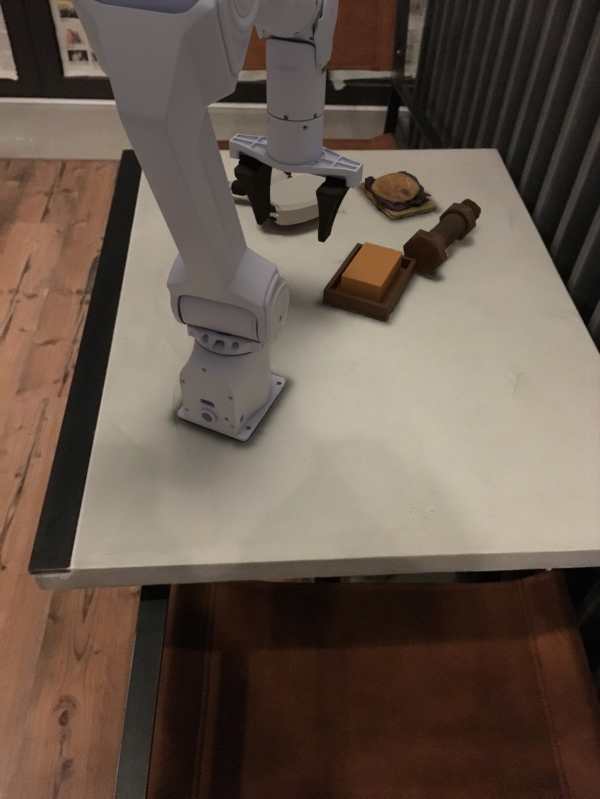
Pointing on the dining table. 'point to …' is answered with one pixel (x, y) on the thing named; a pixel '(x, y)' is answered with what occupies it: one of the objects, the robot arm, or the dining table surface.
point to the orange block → (371, 272)
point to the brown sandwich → (398, 194)
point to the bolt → (441, 236)
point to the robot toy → (289, 197)
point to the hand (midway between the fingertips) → (293, 229)
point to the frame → (364, 305)
